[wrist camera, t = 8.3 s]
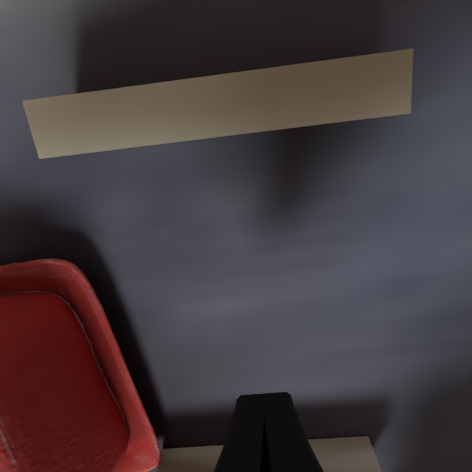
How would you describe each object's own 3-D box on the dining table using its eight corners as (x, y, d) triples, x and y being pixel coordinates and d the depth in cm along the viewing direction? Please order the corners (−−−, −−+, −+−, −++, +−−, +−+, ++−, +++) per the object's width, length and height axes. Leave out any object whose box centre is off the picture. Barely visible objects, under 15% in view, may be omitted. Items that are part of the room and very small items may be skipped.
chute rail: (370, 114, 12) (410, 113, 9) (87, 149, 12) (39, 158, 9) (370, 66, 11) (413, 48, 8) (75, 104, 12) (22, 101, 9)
